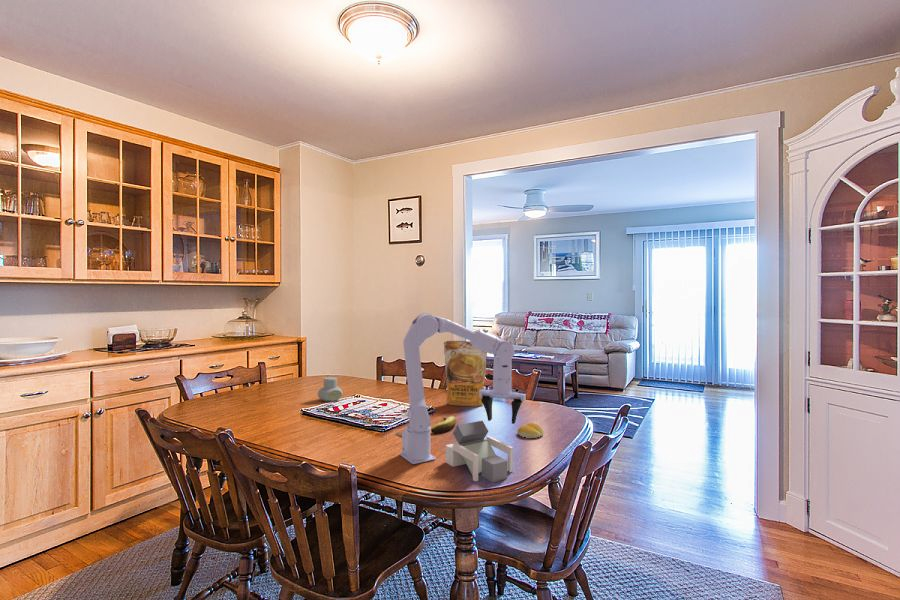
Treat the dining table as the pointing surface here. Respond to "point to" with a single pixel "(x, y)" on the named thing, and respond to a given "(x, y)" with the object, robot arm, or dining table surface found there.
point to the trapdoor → (474, 442)
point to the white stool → (475, 455)
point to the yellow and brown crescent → (441, 426)
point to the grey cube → (494, 468)
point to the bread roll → (530, 431)
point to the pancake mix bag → (464, 373)
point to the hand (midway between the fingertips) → (501, 421)
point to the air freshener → (330, 390)
